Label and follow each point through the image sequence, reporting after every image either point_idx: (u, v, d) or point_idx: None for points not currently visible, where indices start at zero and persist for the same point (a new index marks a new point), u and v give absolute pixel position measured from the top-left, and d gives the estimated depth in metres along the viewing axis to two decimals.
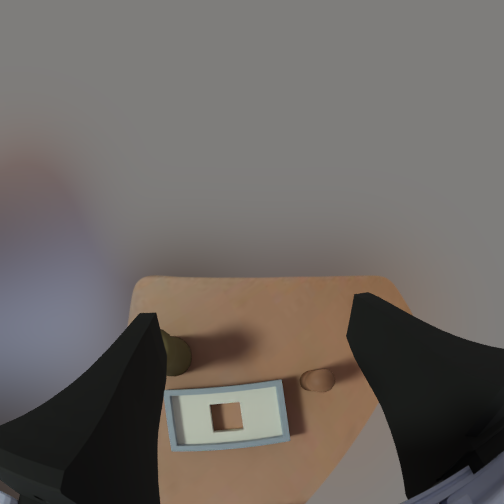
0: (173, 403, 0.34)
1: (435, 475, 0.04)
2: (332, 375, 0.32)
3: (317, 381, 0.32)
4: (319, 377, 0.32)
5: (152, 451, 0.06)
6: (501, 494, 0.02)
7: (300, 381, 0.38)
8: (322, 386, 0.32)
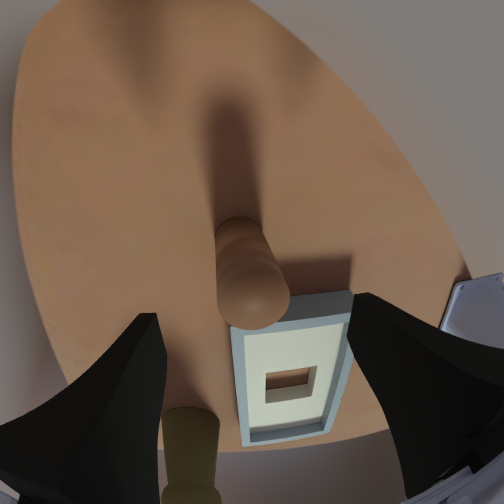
0: (260, 431, 0.24)
1: (435, 475, 0.04)
2: (242, 275, 0.11)
3: (253, 316, 0.12)
4: (242, 312, 0.12)
5: (152, 451, 0.06)
6: (501, 494, 0.02)
7: None
8: (272, 305, 0.12)
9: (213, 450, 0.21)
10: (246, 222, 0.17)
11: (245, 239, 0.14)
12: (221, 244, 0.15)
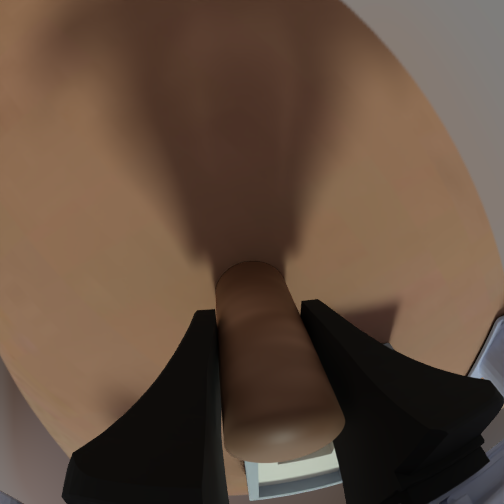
0: (270, 484, 0.19)
1: None
2: (270, 417, 0.05)
3: (282, 452, 0.06)
4: (265, 450, 0.06)
5: (221, 451, 0.07)
6: (501, 494, 0.02)
7: None
8: (314, 438, 0.06)
9: None
10: (263, 274, 0.11)
11: (266, 320, 0.08)
12: (226, 319, 0.09)
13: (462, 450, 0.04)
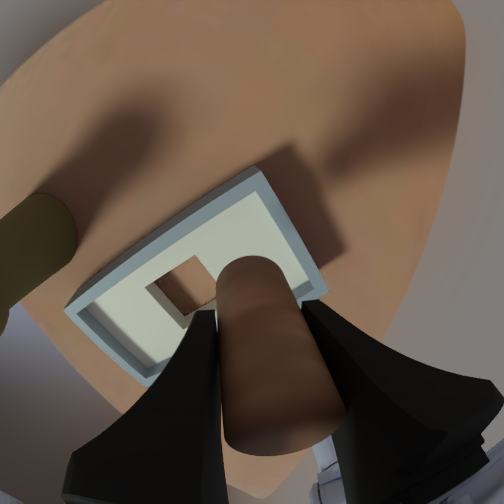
0: (94, 315, 0.18)
1: None
2: (274, 404, 0.05)
3: (279, 444, 0.06)
4: (263, 441, 0.06)
5: (221, 451, 0.07)
6: (501, 494, 0.02)
7: None
8: (313, 431, 0.06)
9: (43, 276, 0.14)
10: (267, 268, 0.11)
11: (271, 311, 0.08)
12: (229, 309, 0.09)
13: (462, 450, 0.04)
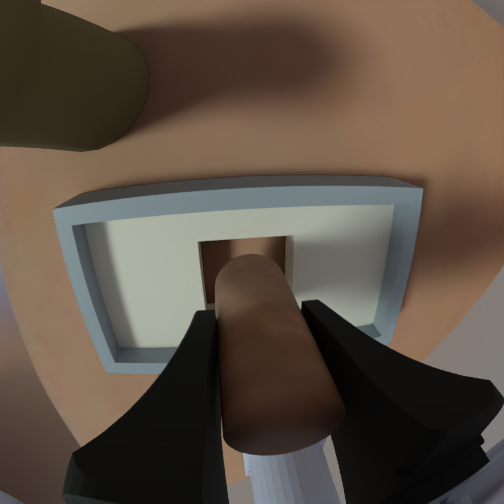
0: (90, 241, 0.11)
1: None
2: (275, 402, 0.05)
3: (278, 443, 0.06)
4: (262, 440, 0.06)
5: (221, 451, 0.07)
6: (501, 494, 0.02)
7: None
8: (312, 431, 0.06)
9: (69, 135, 0.08)
10: (267, 267, 0.11)
11: (272, 310, 0.08)
12: (229, 306, 0.09)
13: (462, 450, 0.04)
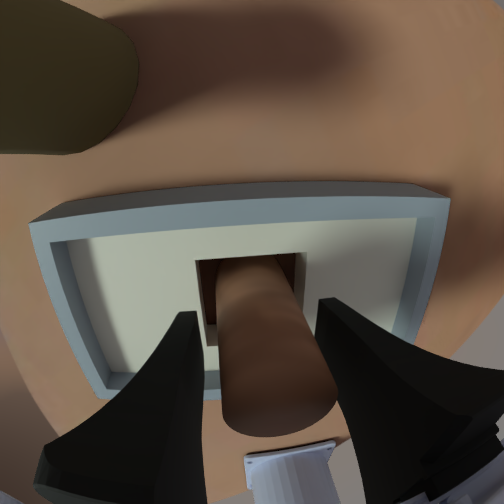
0: (73, 259, 0.10)
1: (392, 496, 0.04)
2: (271, 379, 0.06)
3: (274, 424, 0.07)
4: (259, 420, 0.07)
5: (199, 452, 0.07)
6: (501, 494, 0.02)
7: None
8: (307, 411, 0.07)
9: (39, 137, 0.06)
10: (265, 260, 0.11)
11: (269, 298, 0.09)
12: (228, 295, 0.10)
13: (480, 439, 0.04)
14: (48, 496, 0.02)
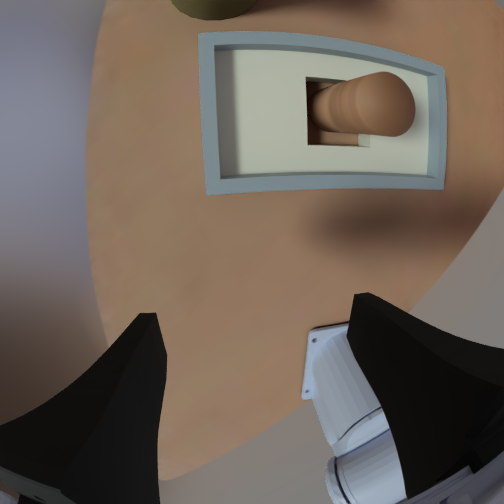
0: (217, 69, 0.13)
1: (435, 475, 0.04)
2: (383, 75, 0.09)
3: (387, 120, 0.10)
4: (379, 110, 0.10)
5: (152, 451, 0.06)
6: (501, 494, 0.02)
7: (328, 131, 0.17)
8: (402, 113, 0.10)
9: None
10: None
11: None
12: (333, 86, 0.13)
13: None
14: None
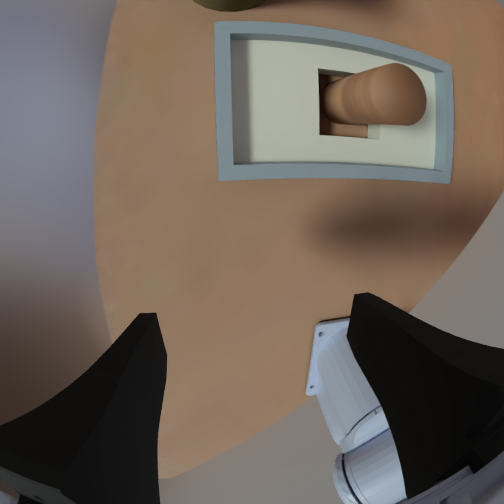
0: (232, 58, 0.13)
1: (435, 475, 0.04)
2: (396, 67, 0.09)
3: (400, 109, 0.10)
4: (393, 99, 0.10)
5: (152, 451, 0.06)
6: (501, 494, 0.02)
7: (338, 123, 0.16)
8: (414, 103, 0.10)
9: None
10: None
11: None
12: (345, 78, 0.13)
13: None
14: None
